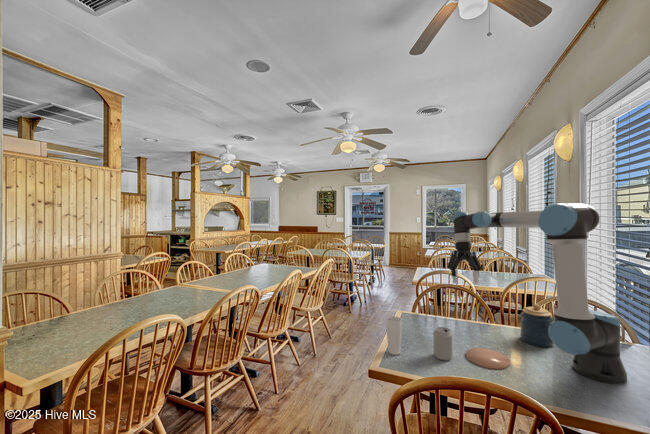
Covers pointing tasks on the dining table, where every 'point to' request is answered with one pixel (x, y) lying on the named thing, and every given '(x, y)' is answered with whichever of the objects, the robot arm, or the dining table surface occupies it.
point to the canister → (536, 326)
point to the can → (443, 343)
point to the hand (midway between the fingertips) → (466, 283)
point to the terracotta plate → (488, 358)
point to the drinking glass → (394, 334)
